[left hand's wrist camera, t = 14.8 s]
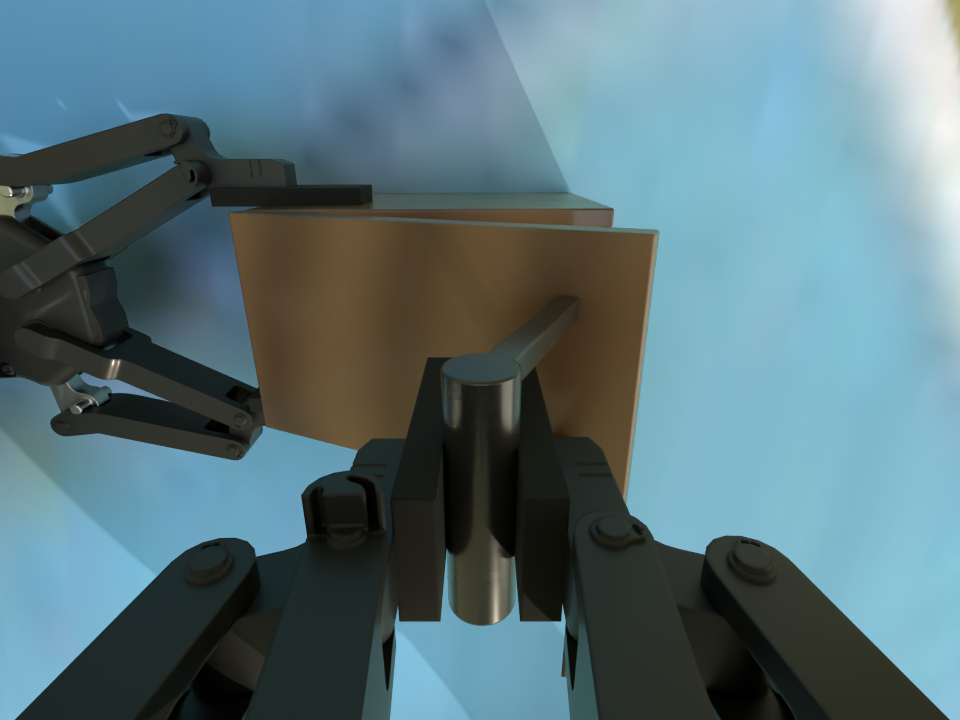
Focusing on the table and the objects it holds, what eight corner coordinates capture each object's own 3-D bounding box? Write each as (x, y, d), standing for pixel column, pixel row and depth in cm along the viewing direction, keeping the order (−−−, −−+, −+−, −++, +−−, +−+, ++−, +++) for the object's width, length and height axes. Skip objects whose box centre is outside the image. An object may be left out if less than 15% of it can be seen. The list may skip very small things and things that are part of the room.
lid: (660, 229, 15) (599, 296, 8) (626, 501, 18) (564, 721, 11) (248, 210, 21) (1, 237, 14) (282, 417, 24) (98, 525, 17)
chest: (571, 192, 30) (614, 208, 21) (562, 342, 34) (596, 414, 24) (316, 193, 30) (244, 210, 21) (333, 344, 33) (278, 416, 24)
